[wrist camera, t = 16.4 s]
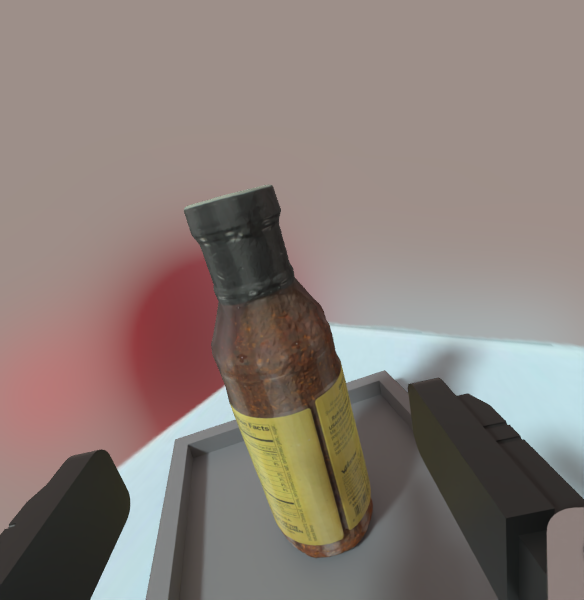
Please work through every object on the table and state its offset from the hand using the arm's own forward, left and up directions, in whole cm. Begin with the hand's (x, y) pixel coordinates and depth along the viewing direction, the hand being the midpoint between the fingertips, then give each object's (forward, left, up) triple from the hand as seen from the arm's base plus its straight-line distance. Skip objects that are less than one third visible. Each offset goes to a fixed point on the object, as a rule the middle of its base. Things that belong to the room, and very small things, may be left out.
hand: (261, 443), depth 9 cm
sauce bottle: (-2, -8, -14) cm, 16 cm away
